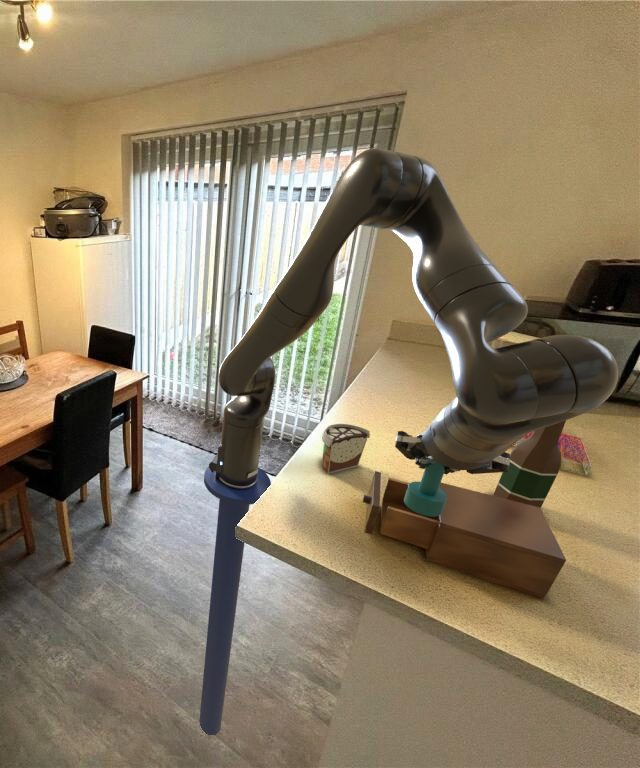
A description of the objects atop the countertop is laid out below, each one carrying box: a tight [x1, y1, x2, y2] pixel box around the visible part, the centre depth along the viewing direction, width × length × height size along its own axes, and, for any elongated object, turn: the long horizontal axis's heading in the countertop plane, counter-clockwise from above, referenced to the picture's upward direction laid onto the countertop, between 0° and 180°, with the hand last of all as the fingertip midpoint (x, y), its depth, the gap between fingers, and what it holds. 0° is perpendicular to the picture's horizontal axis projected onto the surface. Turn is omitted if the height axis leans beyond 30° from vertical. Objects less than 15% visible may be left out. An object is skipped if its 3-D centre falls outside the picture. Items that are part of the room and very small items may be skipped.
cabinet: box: [425, 482, 567, 600], centre depth 72 cm, size 16×14×9 cm
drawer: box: [362, 470, 439, 550], centre depth 77 cm, size 16×13×7 cm
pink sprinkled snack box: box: [512, 431, 593, 477], centre depth 106 cm, size 30×15×5 cm, turn 139°
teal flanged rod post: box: [404, 462, 447, 517], centre depth 63 cm, size 5×5×12 cm
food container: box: [321, 423, 371, 474], centre depth 98 cm, size 12×6×10 cm, turn 108°
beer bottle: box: [492, 420, 567, 509], centre depth 80 cm, size 8×8×24 cm
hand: (432, 465), depth 64 cm, fingers closed on teal flanged rod post, 2 cm apart
